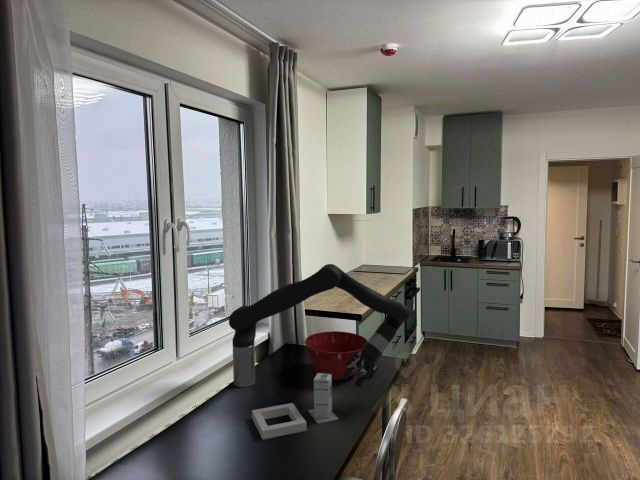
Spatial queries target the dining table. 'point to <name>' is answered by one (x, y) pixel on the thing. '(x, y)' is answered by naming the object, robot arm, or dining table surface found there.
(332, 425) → the dining table surface
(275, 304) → the robot arm
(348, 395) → the dining table surface
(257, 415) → the hollow square frame
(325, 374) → the syrup box
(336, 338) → the mixing bowl
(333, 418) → the rubber mat
